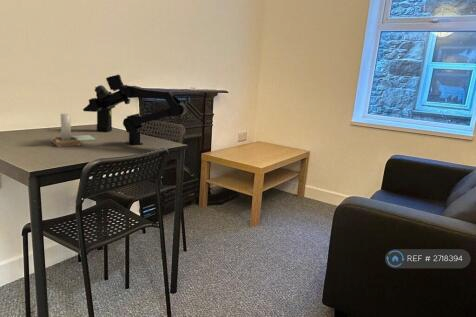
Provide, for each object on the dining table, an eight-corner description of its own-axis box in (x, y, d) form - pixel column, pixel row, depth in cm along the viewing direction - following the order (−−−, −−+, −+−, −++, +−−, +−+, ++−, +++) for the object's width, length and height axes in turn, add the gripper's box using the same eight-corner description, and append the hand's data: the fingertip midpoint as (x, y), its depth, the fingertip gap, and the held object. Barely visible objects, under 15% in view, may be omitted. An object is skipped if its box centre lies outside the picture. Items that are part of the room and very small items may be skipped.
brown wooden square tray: (80, 145, 162) (80, 140, 161) (57, 147, 155) (57, 141, 155) (74, 141, 169) (74, 136, 169) (52, 142, 163) (51, 137, 162)
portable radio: (114, 130, 203) (114, 87, 197) (109, 132, 197) (109, 88, 191) (101, 129, 204) (100, 86, 198) (96, 131, 198) (95, 86, 192)
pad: (95, 140, 176) (95, 138, 175) (74, 141, 169) (74, 140, 169) (89, 136, 183) (89, 135, 183) (68, 137, 176) (68, 136, 176)
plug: (75, 145, 162) (74, 115, 159) (61, 145, 158) (60, 115, 155) (71, 142, 166) (70, 113, 163) (57, 143, 163) (56, 113, 159)
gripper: (117, 82, 179) (91, 93, 182) (98, 83, 161) (70, 95, 164) (125, 103, 181) (100, 113, 184) (108, 106, 163) (80, 117, 166)
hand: (88, 109), depth 174 cm, fingers open, 9 cm apart
